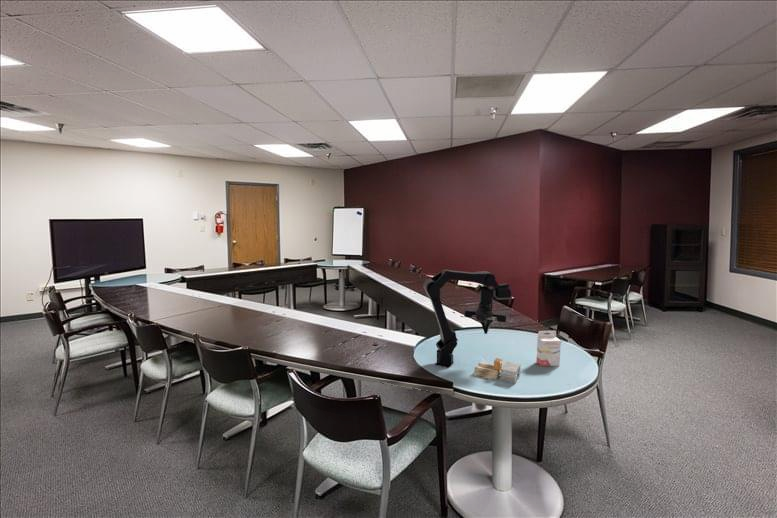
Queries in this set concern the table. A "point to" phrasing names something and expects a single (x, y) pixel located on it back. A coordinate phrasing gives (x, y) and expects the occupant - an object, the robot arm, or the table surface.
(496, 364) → the lock bolt
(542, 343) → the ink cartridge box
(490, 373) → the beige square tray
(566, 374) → the table surface
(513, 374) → the block
